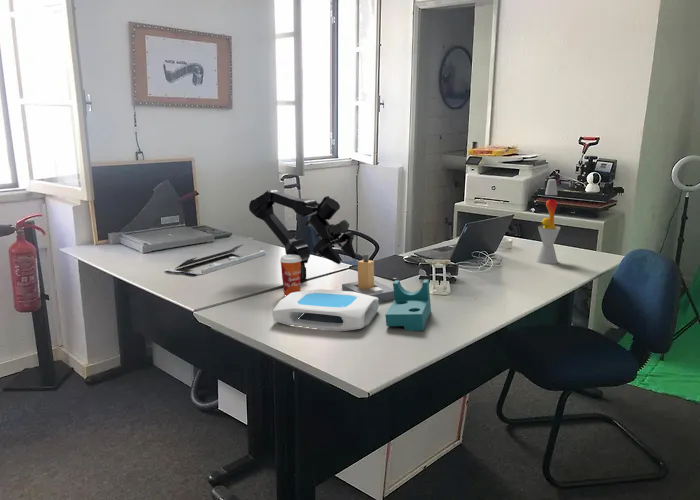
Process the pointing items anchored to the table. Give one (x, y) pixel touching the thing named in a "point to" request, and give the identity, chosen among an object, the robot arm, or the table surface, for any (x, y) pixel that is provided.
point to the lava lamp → (549, 228)
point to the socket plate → (372, 290)
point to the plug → (365, 273)
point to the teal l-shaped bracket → (409, 307)
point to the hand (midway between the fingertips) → (347, 260)
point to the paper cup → (291, 273)
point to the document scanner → (327, 309)
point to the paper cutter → (219, 266)
